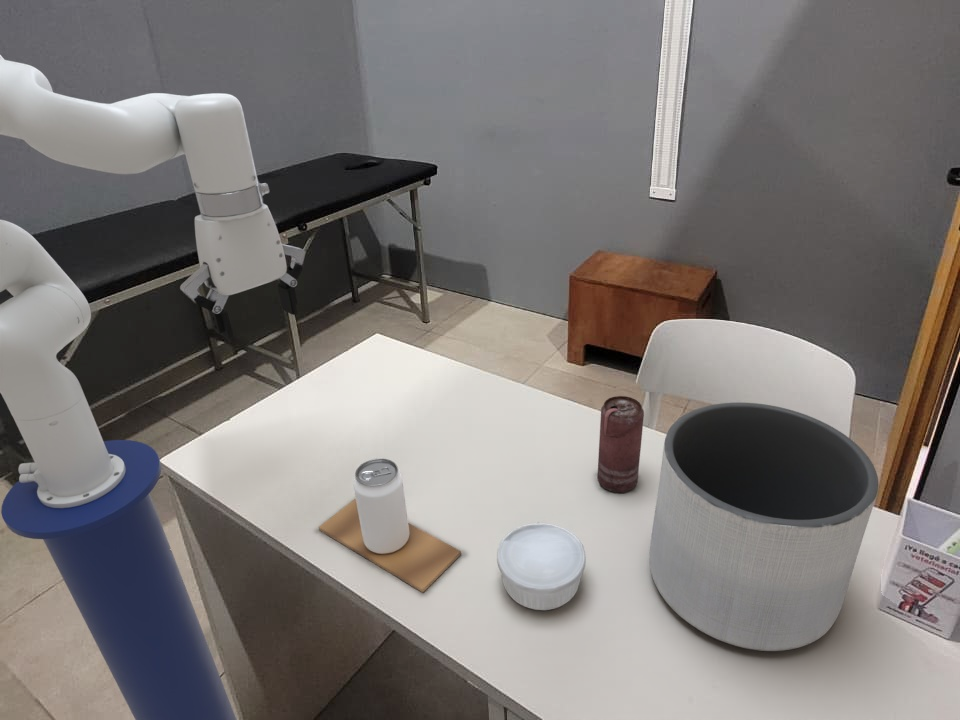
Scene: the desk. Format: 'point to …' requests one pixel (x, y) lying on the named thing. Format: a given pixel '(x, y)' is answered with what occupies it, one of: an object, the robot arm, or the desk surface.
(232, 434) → the desk surface
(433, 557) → the board
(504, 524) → the desk surface
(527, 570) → the ramekin
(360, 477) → the can
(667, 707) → the desk surface
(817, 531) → the planter
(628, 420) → the can
